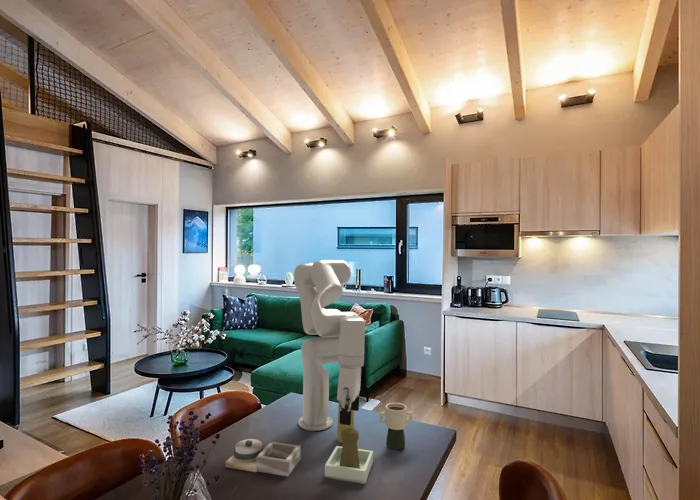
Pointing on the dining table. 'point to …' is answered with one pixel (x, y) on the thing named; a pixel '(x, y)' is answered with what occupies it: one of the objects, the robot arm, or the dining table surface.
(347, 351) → the robot arm
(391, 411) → the cream green cup
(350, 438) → the cork
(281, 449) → the desk organizer
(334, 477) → the tray
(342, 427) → the vase
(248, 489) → the dining table surface
